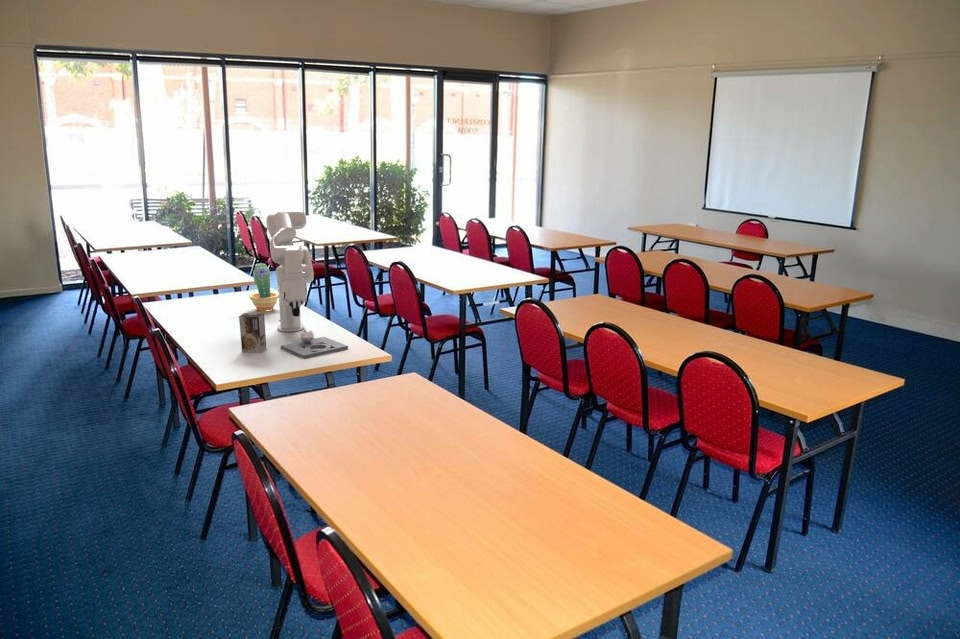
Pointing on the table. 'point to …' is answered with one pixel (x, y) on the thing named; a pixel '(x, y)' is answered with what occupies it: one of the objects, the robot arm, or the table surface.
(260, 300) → the potted cactus
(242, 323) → the coffee box
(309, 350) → the hole board
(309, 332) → the metal ball
